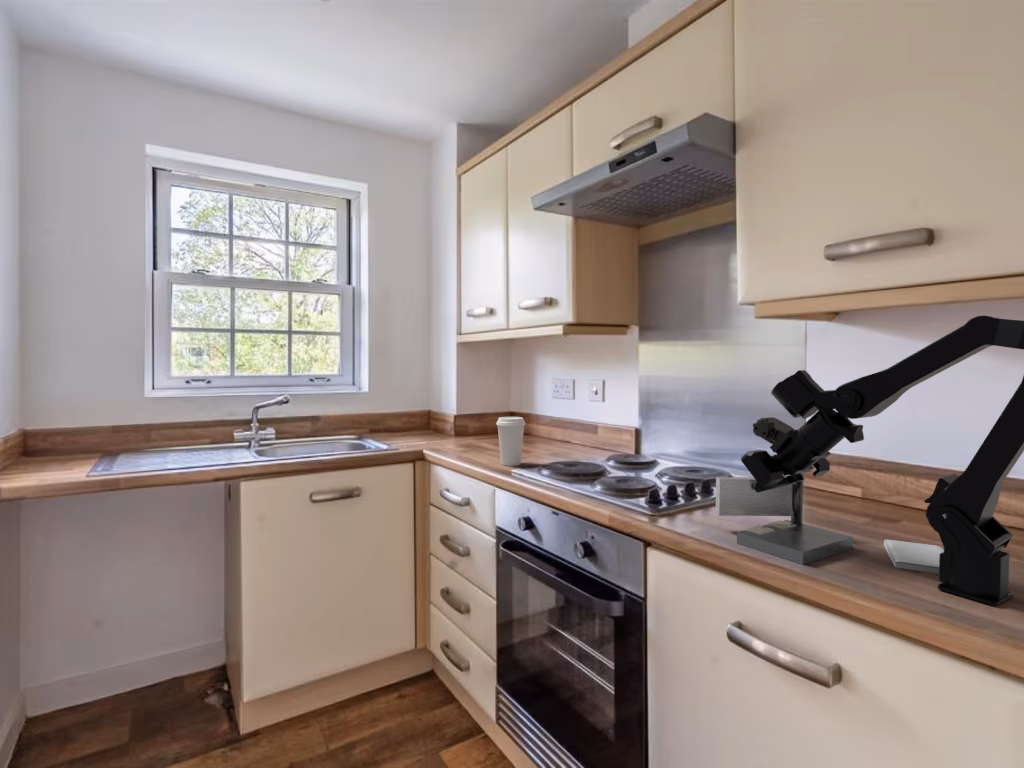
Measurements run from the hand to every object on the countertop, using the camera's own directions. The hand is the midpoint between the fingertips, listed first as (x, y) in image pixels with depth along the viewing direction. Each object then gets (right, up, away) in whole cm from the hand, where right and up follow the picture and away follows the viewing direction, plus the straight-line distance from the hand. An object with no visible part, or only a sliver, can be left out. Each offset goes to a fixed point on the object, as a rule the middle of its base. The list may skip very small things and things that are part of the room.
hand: (757, 490), depth 101 cm
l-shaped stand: (+4, -8, -7) cm, 11 cm away
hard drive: (+20, -9, -14) cm, 26 cm away
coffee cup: (-47, -6, +72) cm, 86 cm away
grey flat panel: (0, -5, +2) cm, 5 cm away
